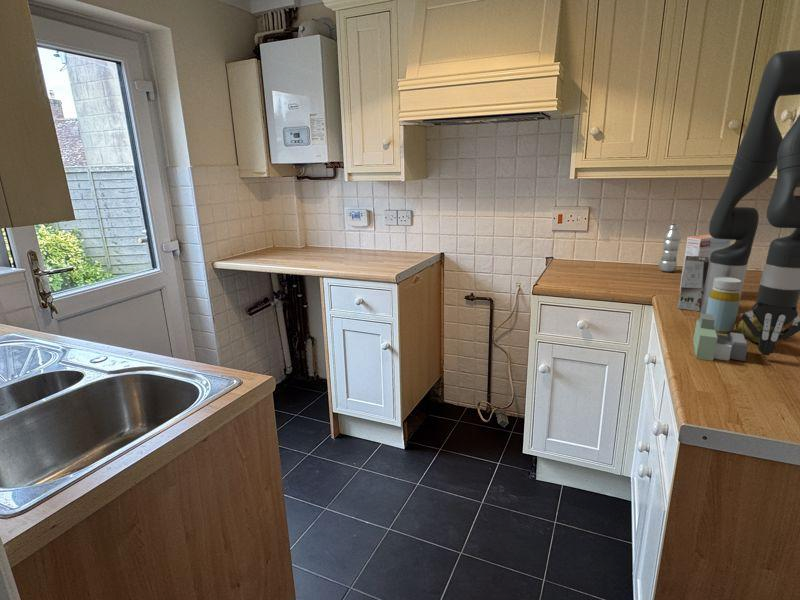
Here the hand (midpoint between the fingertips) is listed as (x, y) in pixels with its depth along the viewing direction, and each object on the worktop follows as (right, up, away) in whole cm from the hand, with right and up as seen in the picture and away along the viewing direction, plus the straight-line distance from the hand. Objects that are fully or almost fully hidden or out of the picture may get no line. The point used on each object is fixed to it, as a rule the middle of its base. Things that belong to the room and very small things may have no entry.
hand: (764, 353), depth 113 cm
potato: (+6, +1, +11) cm, 12 cm away
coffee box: (+7, +11, +42) cm, 43 cm away
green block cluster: (-9, 0, +5) cm, 10 cm away
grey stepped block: (-6, 0, +4) cm, 7 cm away
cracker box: (+20, +15, +56) cm, 61 cm away
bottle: (+2, +4, +19) cm, 20 cm away
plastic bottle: (+27, +25, +89) cm, 96 cm away
